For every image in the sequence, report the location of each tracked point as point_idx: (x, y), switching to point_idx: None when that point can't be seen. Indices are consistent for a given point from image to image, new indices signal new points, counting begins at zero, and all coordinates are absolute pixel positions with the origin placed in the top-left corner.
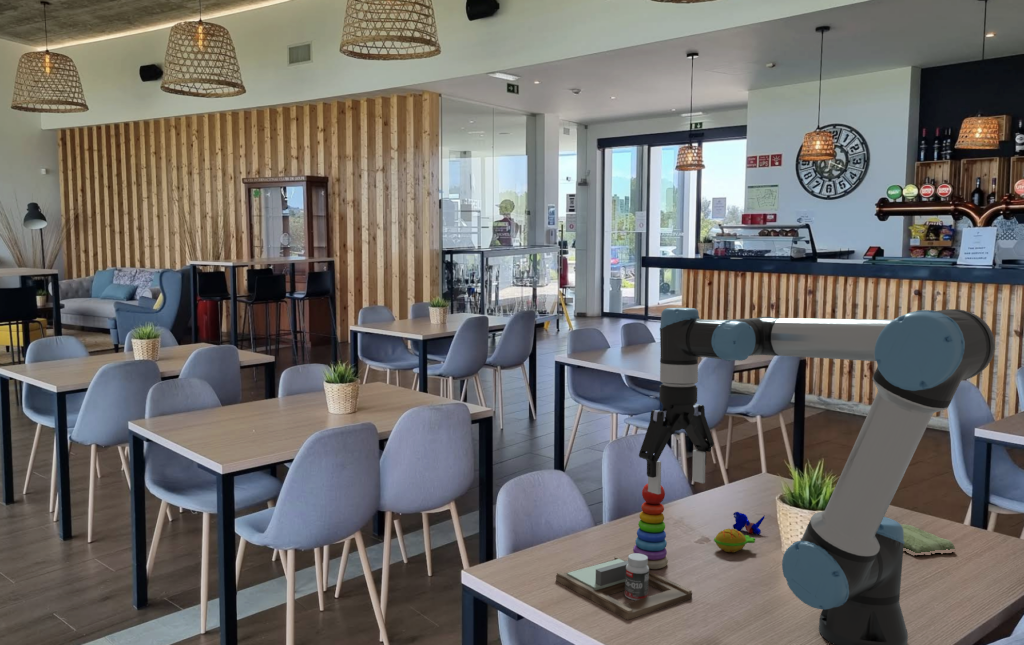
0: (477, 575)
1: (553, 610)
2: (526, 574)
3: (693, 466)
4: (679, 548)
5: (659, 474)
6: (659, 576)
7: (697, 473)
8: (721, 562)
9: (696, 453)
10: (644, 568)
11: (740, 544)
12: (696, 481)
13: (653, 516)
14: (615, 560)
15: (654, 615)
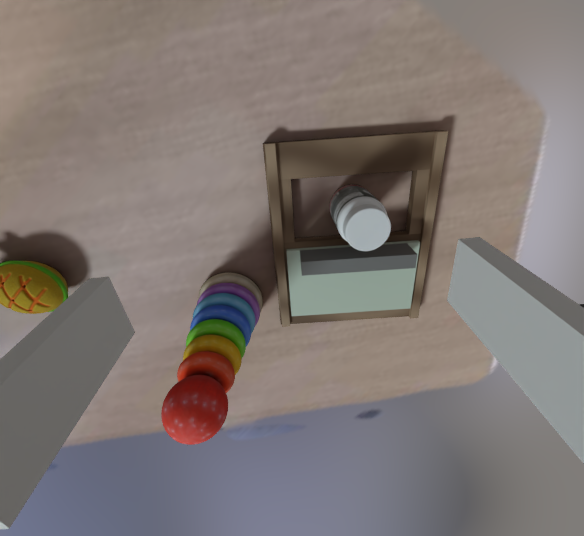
0: (487, 366)
1: (505, 228)
2: (431, 343)
3: (90, 391)
4: (138, 322)
5: (559, 303)
6: (276, 229)
7: (98, 337)
8: (95, 245)
9: (3, 479)
10: (363, 203)
11: (20, 261)
12: (124, 311)
13: (222, 350)
14: (302, 313)
15: (384, 119)
